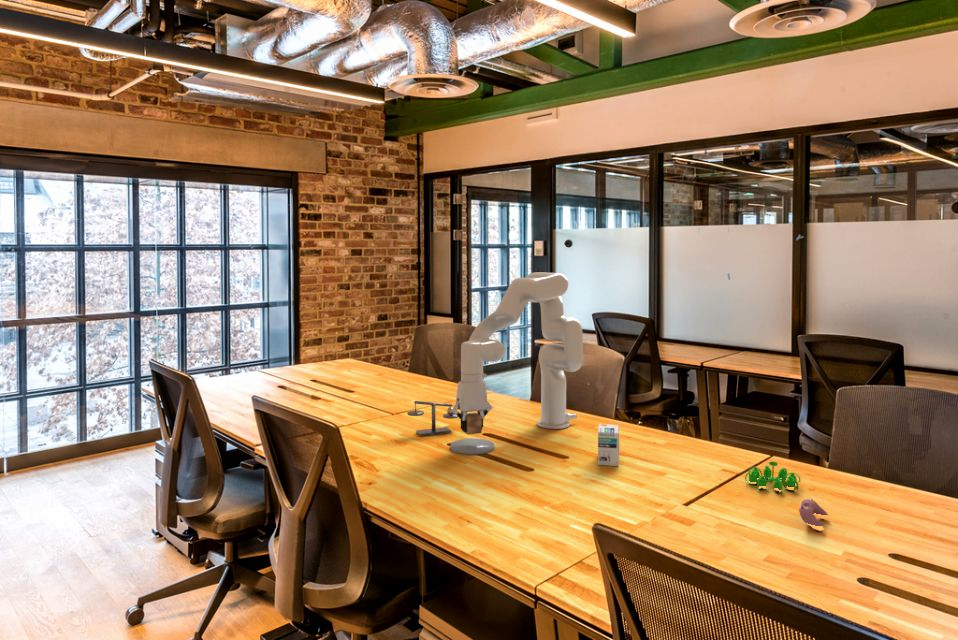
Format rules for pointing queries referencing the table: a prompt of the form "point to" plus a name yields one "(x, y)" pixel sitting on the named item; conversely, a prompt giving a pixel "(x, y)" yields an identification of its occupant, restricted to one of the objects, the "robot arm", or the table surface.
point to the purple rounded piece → (811, 512)
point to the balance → (433, 418)
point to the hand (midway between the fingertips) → (471, 429)
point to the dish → (472, 446)
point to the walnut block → (473, 423)
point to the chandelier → (767, 474)
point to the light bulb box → (608, 445)
